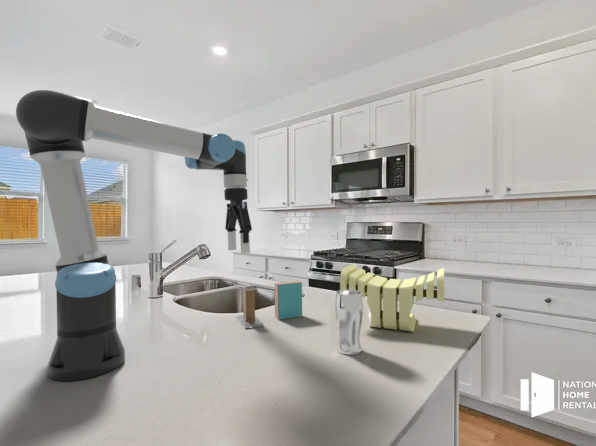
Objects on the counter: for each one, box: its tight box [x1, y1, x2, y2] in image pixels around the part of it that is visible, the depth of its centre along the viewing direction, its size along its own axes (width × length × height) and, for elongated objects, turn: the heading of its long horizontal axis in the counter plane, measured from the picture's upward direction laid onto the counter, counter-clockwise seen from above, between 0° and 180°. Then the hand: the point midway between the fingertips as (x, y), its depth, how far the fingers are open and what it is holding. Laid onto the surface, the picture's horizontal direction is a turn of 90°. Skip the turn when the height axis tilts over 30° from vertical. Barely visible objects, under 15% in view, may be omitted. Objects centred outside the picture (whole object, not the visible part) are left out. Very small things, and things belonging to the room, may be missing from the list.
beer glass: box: [334, 289, 364, 356], centre depth 85 cm, size 7×7×15 cm
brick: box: [274, 280, 303, 320], centre depth 115 cm, size 3×9×12 cm, turn 114°
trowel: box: [235, 288, 265, 329], centre depth 109 cm, size 12×6×11 cm, turn 24°
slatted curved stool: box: [339, 263, 445, 333], centre depth 106 cm, size 30×16×18 cm, turn 67°
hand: (238, 251), depth 111 cm, fingers open, 13 cm apart
